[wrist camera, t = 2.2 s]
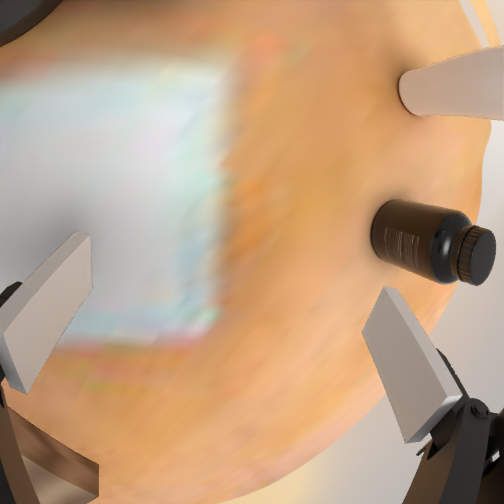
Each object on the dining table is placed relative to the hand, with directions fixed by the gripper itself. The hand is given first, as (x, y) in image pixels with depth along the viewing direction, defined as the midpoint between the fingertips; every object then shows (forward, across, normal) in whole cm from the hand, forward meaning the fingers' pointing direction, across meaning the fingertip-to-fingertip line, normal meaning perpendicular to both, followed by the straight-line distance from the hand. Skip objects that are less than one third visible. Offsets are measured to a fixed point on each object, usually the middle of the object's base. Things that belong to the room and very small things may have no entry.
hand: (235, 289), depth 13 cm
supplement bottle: (+18, +17, -1) cm, 25 cm away
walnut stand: (0, -20, -30) cm, 36 cm away
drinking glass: (+22, +16, +14) cm, 31 cm away
